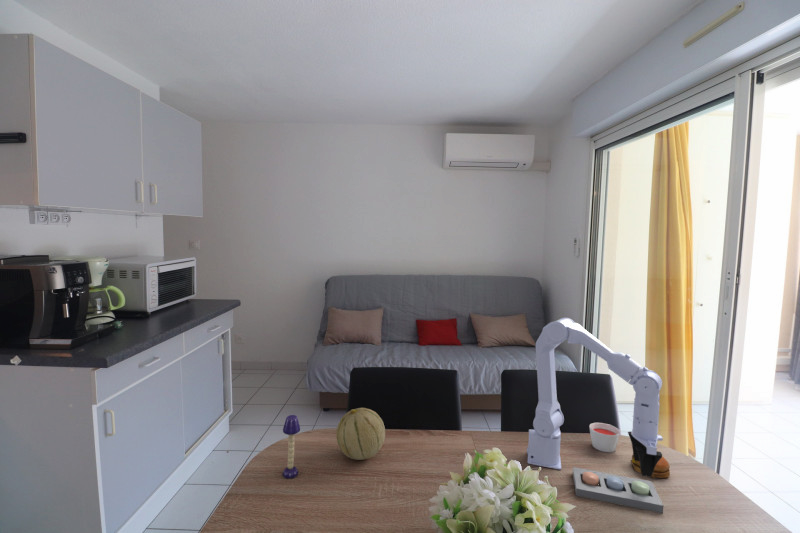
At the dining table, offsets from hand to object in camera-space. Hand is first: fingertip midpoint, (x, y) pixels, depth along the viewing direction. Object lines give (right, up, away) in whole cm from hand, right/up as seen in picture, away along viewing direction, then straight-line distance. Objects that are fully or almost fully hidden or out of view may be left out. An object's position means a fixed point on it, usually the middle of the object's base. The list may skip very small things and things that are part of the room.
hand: (642, 467), depth 109 cm
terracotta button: (-12, -6, +4) cm, 14 cm away
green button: (-1, -6, 0) cm, 6 cm away
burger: (+10, -7, +13) cm, 18 cm away
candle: (+3, -6, +26) cm, 27 cm away
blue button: (-7, -6, +2) cm, 9 cm away
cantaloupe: (-76, -5, +16) cm, 78 cm away
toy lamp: (-95, -5, +6) cm, 95 cm away
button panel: (-7, -7, +2) cm, 10 cm away
